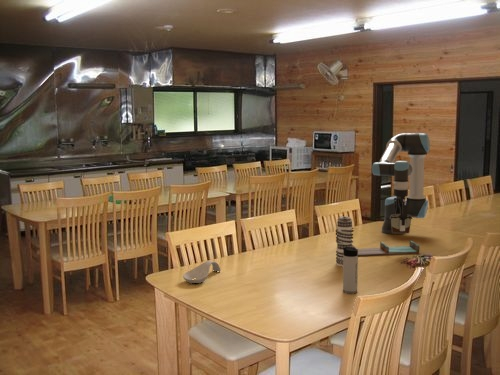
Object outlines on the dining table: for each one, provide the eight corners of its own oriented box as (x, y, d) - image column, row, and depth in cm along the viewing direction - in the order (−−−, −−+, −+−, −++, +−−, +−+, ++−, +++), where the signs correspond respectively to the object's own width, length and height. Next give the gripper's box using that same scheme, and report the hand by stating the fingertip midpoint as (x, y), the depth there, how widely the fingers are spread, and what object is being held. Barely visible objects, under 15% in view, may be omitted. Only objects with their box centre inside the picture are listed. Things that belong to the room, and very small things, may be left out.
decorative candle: (356, 263, 263) (357, 216, 259) (347, 268, 256) (347, 219, 252) (341, 260, 269) (342, 214, 265) (332, 264, 262) (332, 217, 258)
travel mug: (340, 289, 225) (340, 245, 222) (355, 288, 225) (355, 245, 223) (344, 294, 219) (344, 249, 216) (359, 293, 219) (359, 249, 216)
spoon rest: (198, 288, 231) (198, 272, 230) (178, 284, 237) (177, 269, 236) (226, 273, 251) (226, 259, 250) (207, 270, 257) (206, 256, 256)
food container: (409, 230, 285) (410, 213, 284) (412, 233, 279) (412, 215, 278) (387, 230, 286) (387, 213, 285) (389, 233, 280) (389, 215, 279)
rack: (350, 250, 288) (350, 242, 287) (410, 248, 291) (410, 240, 290) (356, 256, 276) (357, 248, 275) (419, 253, 279) (419, 245, 279)
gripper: (388, 186, 289) (387, 226, 292) (401, 191, 269) (400, 233, 272) (400, 186, 289) (399, 225, 292) (414, 191, 270) (413, 233, 273)
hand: (399, 229), depth 282 cm, fingers closed on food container, 7 cm apart
